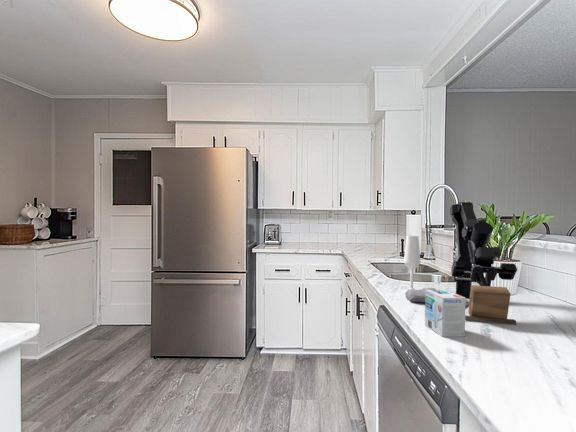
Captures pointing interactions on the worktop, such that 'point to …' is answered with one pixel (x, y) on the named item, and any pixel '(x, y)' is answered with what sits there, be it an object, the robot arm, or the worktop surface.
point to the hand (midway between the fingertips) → (487, 291)
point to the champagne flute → (412, 256)
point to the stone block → (417, 294)
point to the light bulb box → (445, 313)
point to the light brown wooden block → (489, 301)
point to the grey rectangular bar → (490, 320)
